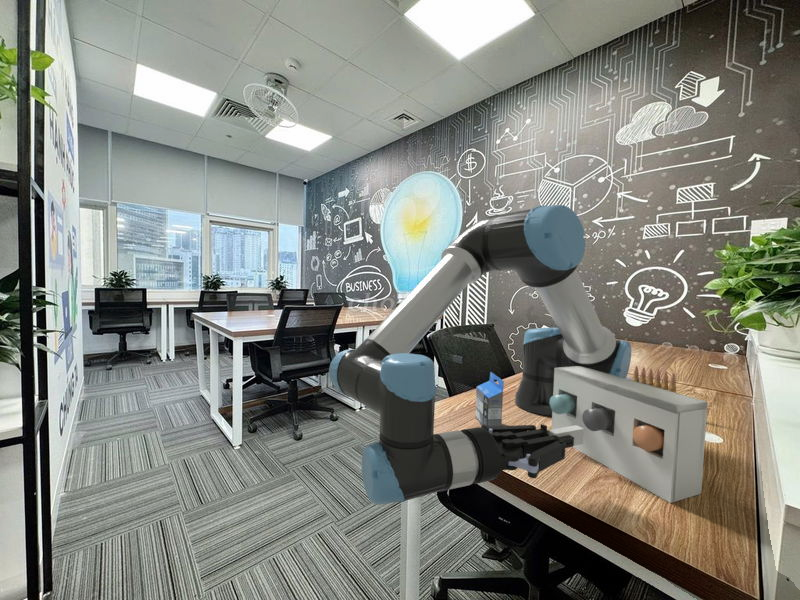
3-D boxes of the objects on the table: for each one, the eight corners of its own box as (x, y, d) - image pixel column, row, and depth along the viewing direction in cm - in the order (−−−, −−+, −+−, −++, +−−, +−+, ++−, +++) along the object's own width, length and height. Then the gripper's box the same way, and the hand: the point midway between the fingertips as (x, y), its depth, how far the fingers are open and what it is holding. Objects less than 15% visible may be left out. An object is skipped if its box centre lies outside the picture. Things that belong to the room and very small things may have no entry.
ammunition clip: (676, 415, 91) (678, 372, 90) (674, 416, 90) (676, 373, 89) (631, 403, 99) (634, 364, 99) (629, 404, 98) (631, 365, 98)
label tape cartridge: (474, 417, 86) (476, 371, 85) (488, 416, 86) (490, 371, 85) (486, 432, 77) (488, 381, 76) (502, 432, 77) (504, 381, 77)
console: (551, 435, 76) (554, 367, 75) (576, 430, 79) (580, 365, 78) (670, 503, 53) (676, 406, 52) (701, 493, 55) (707, 401, 55)
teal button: (549, 410, 73) (550, 392, 73) (559, 408, 74) (560, 391, 74) (563, 417, 69) (564, 398, 69) (574, 415, 70) (575, 397, 70)
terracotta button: (632, 444, 58) (633, 422, 58) (643, 442, 59) (645, 420, 59) (656, 455, 54) (657, 432, 54) (668, 453, 55) (669, 429, 55)
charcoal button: (581, 426, 65) (582, 406, 65) (592, 424, 66) (593, 404, 66) (600, 434, 61) (601, 414, 61) (611, 432, 62) (612, 412, 62)
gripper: (443, 458, 55) (549, 438, 64) (491, 508, 43) (614, 475, 51) (445, 415, 55) (551, 400, 63) (493, 453, 43) (617, 429, 51)
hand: (579, 434), depth 57 cm, fingers closed
